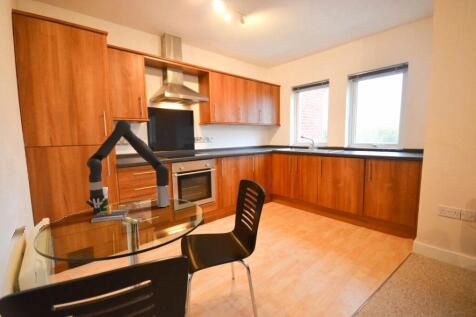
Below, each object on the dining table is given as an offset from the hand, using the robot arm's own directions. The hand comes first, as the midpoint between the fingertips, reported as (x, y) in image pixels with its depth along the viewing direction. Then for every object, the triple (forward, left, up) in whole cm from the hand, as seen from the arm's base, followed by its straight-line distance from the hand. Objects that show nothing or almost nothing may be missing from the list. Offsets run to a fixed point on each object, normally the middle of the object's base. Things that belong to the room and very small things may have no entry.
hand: (98, 212), depth 145 cm
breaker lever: (-7, 0, -2) cm, 7 cm away
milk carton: (+2, -13, -4) cm, 14 cm away
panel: (-8, 0, -4) cm, 9 cm away
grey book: (-7, 0, -2) cm, 8 cm away
